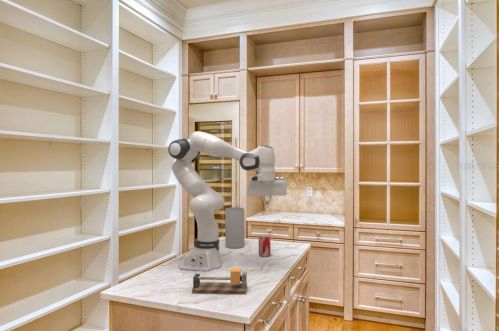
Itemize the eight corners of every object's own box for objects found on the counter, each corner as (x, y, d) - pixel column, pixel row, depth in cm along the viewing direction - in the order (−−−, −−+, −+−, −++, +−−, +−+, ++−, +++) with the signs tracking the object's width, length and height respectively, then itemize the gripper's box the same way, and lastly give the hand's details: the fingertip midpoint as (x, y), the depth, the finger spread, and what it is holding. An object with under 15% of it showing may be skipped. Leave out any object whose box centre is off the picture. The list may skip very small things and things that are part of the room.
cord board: (192, 293, 140) (191, 275, 140) (196, 285, 149) (196, 269, 149) (245, 294, 139) (245, 276, 139) (247, 286, 148) (247, 269, 148)
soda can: (256, 255, 196) (256, 235, 196) (264, 253, 201) (264, 233, 201) (264, 258, 191) (264, 237, 191) (272, 255, 196) (272, 235, 196)
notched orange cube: (230, 282, 142) (230, 271, 142) (231, 279, 146) (231, 268, 146) (239, 283, 141) (239, 271, 141) (240, 279, 146) (240, 268, 146)
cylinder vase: (221, 246, 217) (221, 209, 217) (233, 243, 227) (233, 206, 227) (236, 249, 209) (235, 210, 209) (248, 245, 219) (247, 208, 219)
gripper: (286, 176, 170) (287, 203, 170) (247, 177, 171) (247, 203, 171) (287, 177, 163) (287, 205, 163) (246, 177, 165) (246, 205, 165)
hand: (266, 204), depth 167 cm, fingers closed
